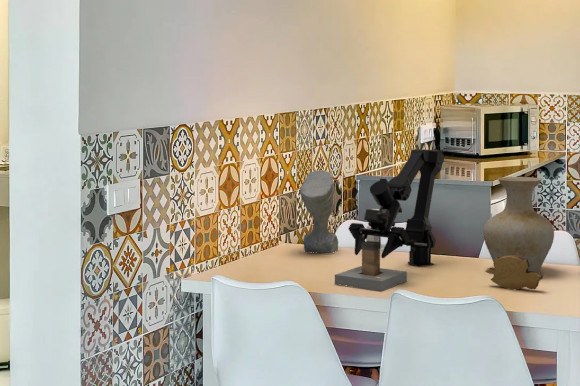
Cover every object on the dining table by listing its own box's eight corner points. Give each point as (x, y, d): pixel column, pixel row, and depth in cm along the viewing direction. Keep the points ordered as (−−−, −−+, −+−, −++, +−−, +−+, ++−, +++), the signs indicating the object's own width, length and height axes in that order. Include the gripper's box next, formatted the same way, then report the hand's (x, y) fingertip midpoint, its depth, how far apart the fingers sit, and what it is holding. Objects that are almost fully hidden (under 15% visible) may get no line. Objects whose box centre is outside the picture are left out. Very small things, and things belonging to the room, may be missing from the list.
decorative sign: (373, 262, 299) (373, 221, 296) (366, 262, 299) (365, 221, 296) (380, 244, 321) (380, 206, 318) (373, 244, 322) (373, 206, 318)
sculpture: (339, 247, 315) (339, 167, 312) (332, 259, 293) (332, 173, 290) (307, 246, 317) (307, 167, 314) (298, 258, 295) (297, 173, 292)
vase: (494, 262, 285) (496, 174, 281) (560, 268, 274) (563, 177, 270) (473, 274, 266) (475, 180, 263) (543, 281, 255) (545, 183, 252)
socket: (361, 275, 267) (361, 264, 267) (406, 281, 258) (406, 270, 257) (334, 284, 254) (334, 273, 254) (381, 291, 245) (381, 279, 244)
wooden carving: (543, 290, 245) (544, 256, 244) (540, 293, 241) (541, 259, 240) (487, 284, 253) (488, 251, 251) (483, 287, 249) (484, 254, 247)
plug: (368, 280, 259) (368, 240, 257) (380, 282, 256) (380, 242, 255) (361, 283, 255) (361, 242, 254) (373, 285, 253) (373, 244, 251)
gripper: (351, 197, 261) (332, 237, 254) (404, 201, 251) (386, 243, 243) (364, 219, 269) (346, 258, 261) (416, 223, 258) (399, 265, 250)
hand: (368, 255), depth 254 cm, fingers open, 9 cm apart
